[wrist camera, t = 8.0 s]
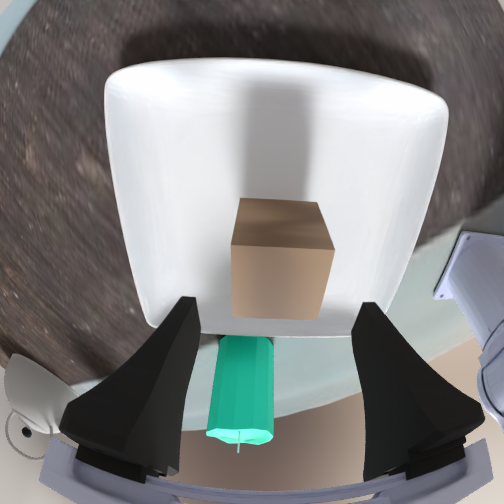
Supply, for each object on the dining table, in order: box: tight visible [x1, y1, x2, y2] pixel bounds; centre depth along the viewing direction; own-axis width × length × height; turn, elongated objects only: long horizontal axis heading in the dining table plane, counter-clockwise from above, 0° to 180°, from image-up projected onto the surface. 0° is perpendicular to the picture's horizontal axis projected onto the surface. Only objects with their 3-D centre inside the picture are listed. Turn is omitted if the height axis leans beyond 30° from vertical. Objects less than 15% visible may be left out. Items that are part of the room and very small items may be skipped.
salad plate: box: [104, 57, 449, 338], centre depth 18 cm, size 21×21×3 cm
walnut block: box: [231, 198, 335, 320], centre depth 15 cm, size 4×4×5 cm
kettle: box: [4, 353, 80, 461], centre depth 37 cm, size 25×23×22 cm
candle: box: [207, 335, 274, 453], centre depth 24 cm, size 6×6×12 cm
